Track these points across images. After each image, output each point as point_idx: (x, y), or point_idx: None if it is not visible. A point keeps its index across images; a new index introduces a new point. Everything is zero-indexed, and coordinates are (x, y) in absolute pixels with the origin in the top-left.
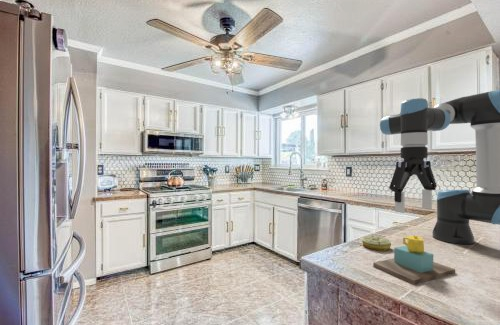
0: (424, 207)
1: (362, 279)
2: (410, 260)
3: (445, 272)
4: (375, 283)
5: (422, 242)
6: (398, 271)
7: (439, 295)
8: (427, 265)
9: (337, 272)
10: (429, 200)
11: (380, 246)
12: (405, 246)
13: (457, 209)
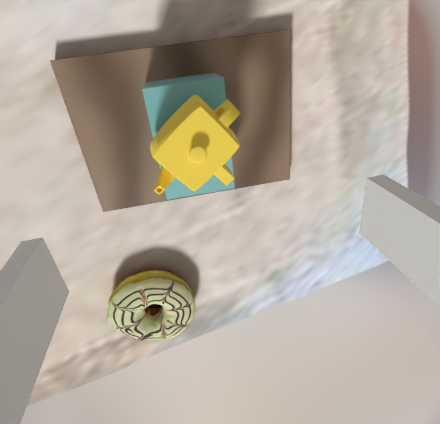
0: (59, 283)
1: (387, 106)
2: None
3: (114, 52)
4: (379, 74)
5: (201, 105)
6: (275, 103)
7: None
8: (179, 79)
9: (406, 161)
10: (10, 303)
11: (169, 276)
12: (179, 191)
13: None
